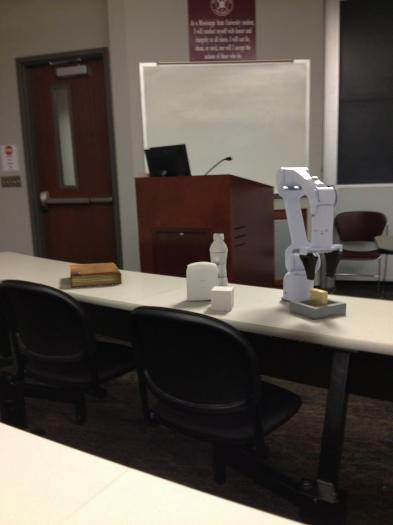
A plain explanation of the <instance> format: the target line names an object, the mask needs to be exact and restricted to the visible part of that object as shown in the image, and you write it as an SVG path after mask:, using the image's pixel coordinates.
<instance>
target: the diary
mask: <svg viewBox="0 0 393 525" xmlns="http://www.w3.org/2000/svg"><path fill="white" fill-rule="evenodd" d="M69 265H70V266H69V270H70V271H69V272H70V273H69V276H70V287H71V289H73V288H76V289H77V288H88V287H87V286H91V287H99V286H98V285H106V286H113V285H112V284H121V285H122V282H123V281H122V280H123V279H122V272H121V271H120V269H119V268H118V266H117V264H115V263H114V262H100V263H81V264H80V263H79V264H69Z"/></svg>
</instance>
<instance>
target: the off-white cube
mask: <svg viewBox="0 0 393 525" xmlns="http://www.w3.org/2000/svg"><path fill="white" fill-rule="evenodd" d="M234 299H235V287H234V286H227V287H221V286H214V287H213V289H212V290H211V300H210V310H211V311H224V310H226V311H228V312H232V310H233V308H234V305H235V300H234Z"/></svg>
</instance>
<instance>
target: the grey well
mask: <svg viewBox="0 0 393 525" xmlns="http://www.w3.org/2000/svg"><path fill="white" fill-rule="evenodd" d="M289 312H290V313H293V314H296V315H299V316H302V317H305V318H308V319H311V320H314V321H315V320H321V319H325V318H326V319H327V318H331V317H335V316H342V315H345V314H347V302H344V301H339V300H336V299H332V298H328V299H327V305H324V306H319V307H313V306H310V305H309V298H307V299H301V300H296V301H289Z"/></svg>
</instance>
